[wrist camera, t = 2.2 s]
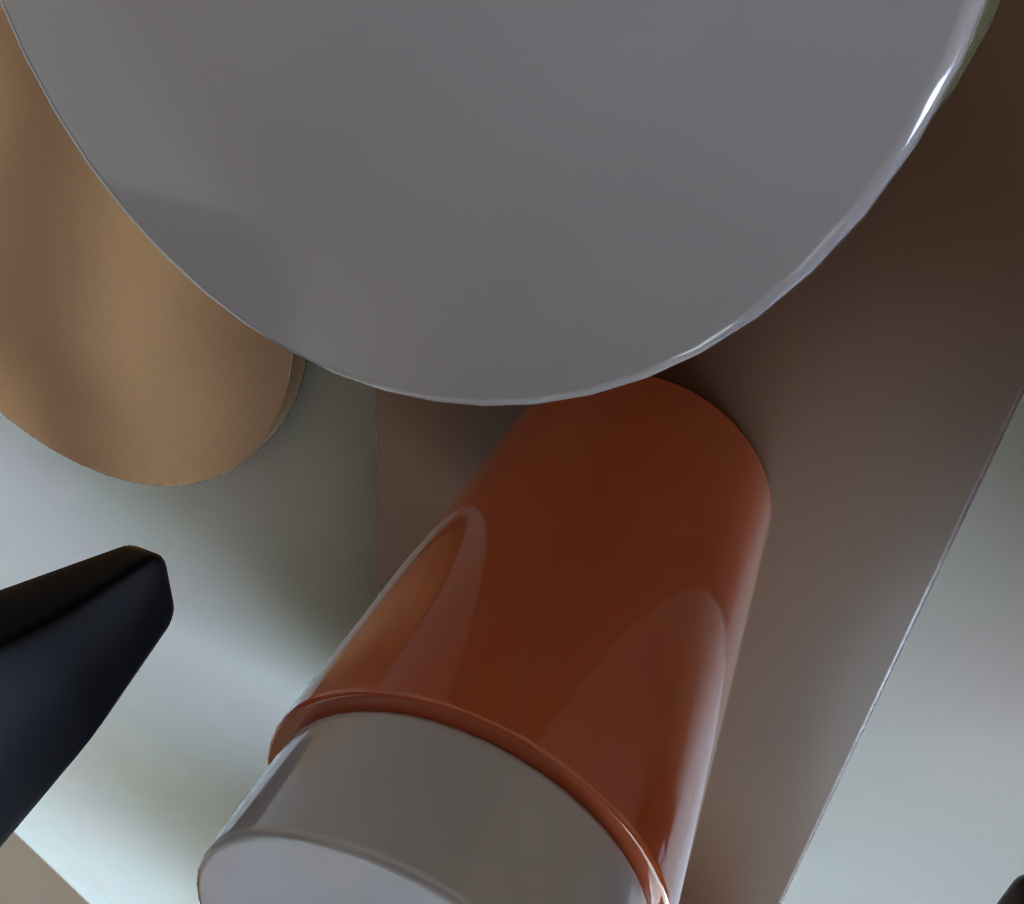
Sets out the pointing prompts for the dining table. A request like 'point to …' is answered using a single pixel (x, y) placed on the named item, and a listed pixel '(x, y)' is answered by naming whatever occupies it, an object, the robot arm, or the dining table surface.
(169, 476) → the cork trivet
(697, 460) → the terracotta shaker
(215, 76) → the cylinder
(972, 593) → the dining table surface
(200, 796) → the dining table surface
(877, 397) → the spice shelf
